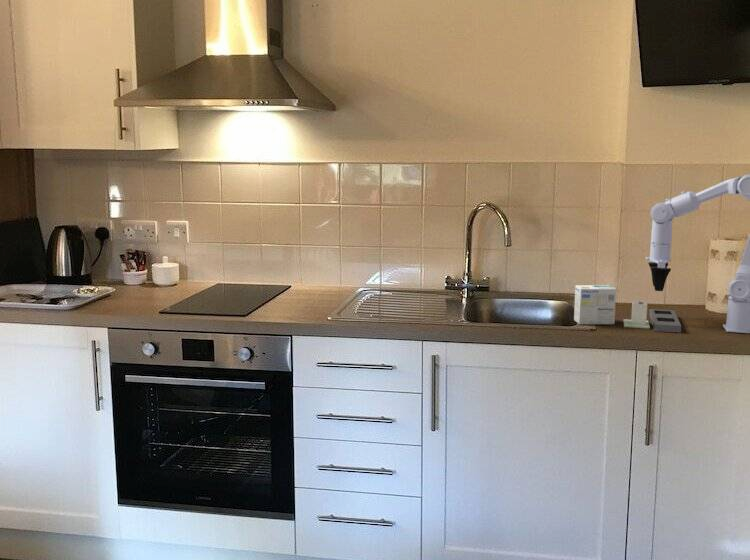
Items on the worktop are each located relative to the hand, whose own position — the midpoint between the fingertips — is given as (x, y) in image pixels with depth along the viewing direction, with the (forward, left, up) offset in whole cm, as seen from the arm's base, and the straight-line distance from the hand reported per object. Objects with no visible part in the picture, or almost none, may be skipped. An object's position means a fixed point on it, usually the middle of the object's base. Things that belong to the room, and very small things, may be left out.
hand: (657, 288), depth 239 cm
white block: (+5, +9, -9) cm, 14 cm away
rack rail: (-2, +6, -9) cm, 11 cm away
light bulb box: (+18, +9, -10) cm, 22 cm away
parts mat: (+6, +9, -9) cm, 14 cm away
